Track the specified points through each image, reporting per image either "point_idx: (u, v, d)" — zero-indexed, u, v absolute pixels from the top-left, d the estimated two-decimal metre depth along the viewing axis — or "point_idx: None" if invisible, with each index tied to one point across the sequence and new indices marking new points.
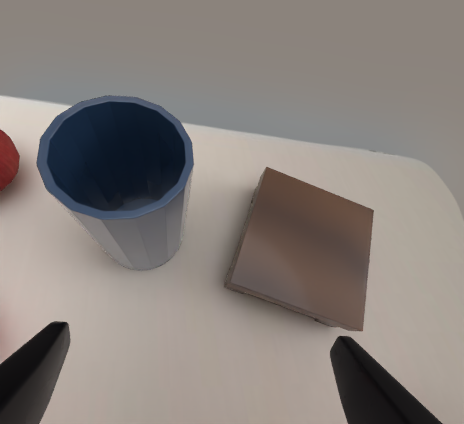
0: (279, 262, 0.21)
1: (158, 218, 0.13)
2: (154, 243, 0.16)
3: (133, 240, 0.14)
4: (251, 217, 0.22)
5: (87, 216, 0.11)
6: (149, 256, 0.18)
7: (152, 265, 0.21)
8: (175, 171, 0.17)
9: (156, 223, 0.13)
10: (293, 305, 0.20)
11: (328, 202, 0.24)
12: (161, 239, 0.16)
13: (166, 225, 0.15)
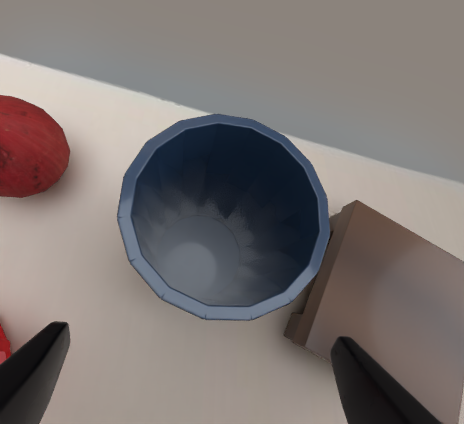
0: (364, 327, 0.17)
1: None
2: None
3: None
4: (334, 264, 0.18)
5: (183, 309, 0.08)
6: None
7: None
8: (268, 210, 0.13)
9: None
10: None
11: (426, 254, 0.20)
12: None
13: None
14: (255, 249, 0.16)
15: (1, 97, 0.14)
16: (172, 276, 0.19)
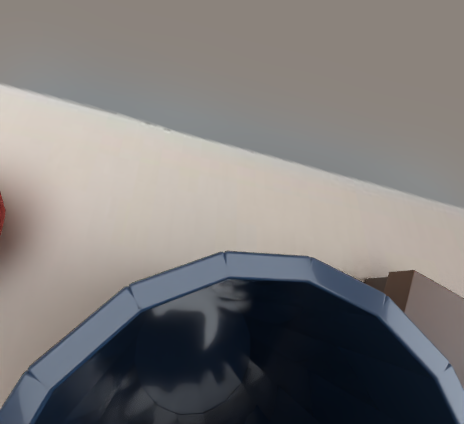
0: None
1: None
2: None
3: None
4: None
5: None
6: None
7: None
8: (308, 346, 0.08)
9: None
10: None
11: None
12: None
13: None
14: (278, 370, 0.11)
15: None
16: (156, 383, 0.13)
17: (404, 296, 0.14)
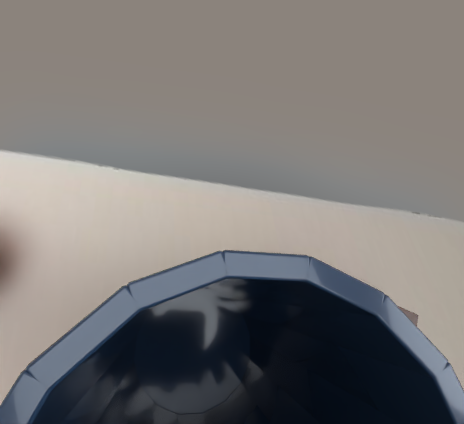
0: None
1: None
2: None
3: None
4: None
5: None
6: None
7: None
8: (308, 346, 0.08)
9: None
10: None
11: None
12: None
13: None
14: (277, 369, 0.11)
15: None
16: (156, 382, 0.13)
17: None
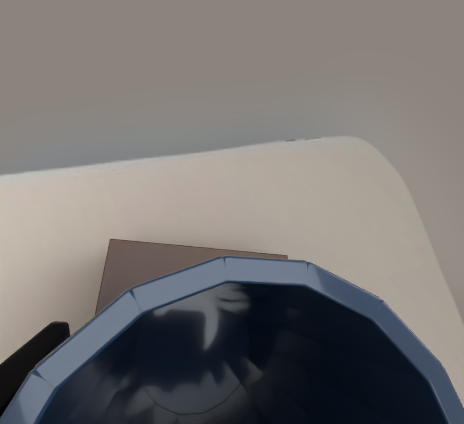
0: None
1: None
2: None
3: None
4: None
5: None
6: None
7: None
8: (306, 348, 0.08)
9: None
10: None
11: None
12: None
13: None
14: (277, 371, 0.11)
15: None
16: (156, 383, 0.13)
17: None
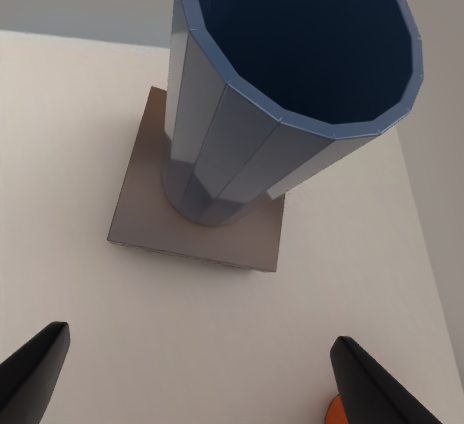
0: (173, 207, 0.17)
1: (336, 156, 0.07)
2: (266, 196, 0.11)
3: (258, 182, 0.09)
4: (132, 155, 0.17)
5: (250, 110, 0.06)
6: (236, 211, 0.13)
7: (221, 223, 0.16)
8: (316, 100, 0.12)
9: (320, 165, 0.08)
10: (192, 256, 0.17)
11: None
12: (278, 193, 0.11)
13: (314, 174, 0.09)
14: None
15: None
16: None
17: (146, 106, 0.18)
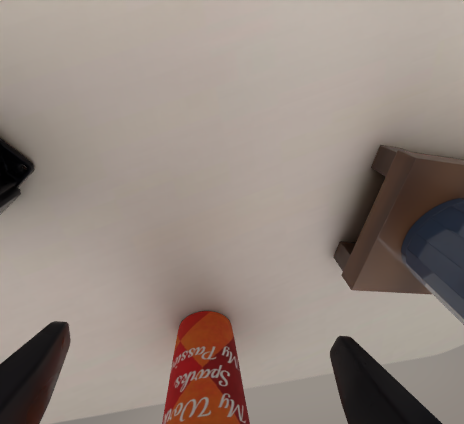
0: None
1: None
2: None
3: None
4: None
5: None
6: (456, 293, 0.15)
7: (417, 258, 0.18)
8: None
9: None
10: (381, 228, 0.19)
11: None
12: None
13: None
14: None
15: None
16: None
17: None
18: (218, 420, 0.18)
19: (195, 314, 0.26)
